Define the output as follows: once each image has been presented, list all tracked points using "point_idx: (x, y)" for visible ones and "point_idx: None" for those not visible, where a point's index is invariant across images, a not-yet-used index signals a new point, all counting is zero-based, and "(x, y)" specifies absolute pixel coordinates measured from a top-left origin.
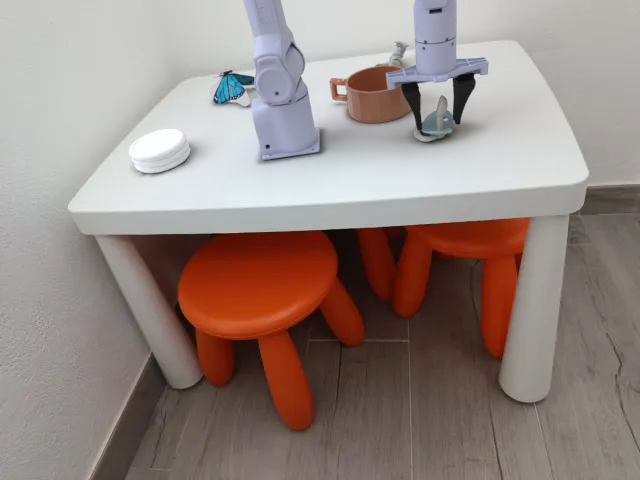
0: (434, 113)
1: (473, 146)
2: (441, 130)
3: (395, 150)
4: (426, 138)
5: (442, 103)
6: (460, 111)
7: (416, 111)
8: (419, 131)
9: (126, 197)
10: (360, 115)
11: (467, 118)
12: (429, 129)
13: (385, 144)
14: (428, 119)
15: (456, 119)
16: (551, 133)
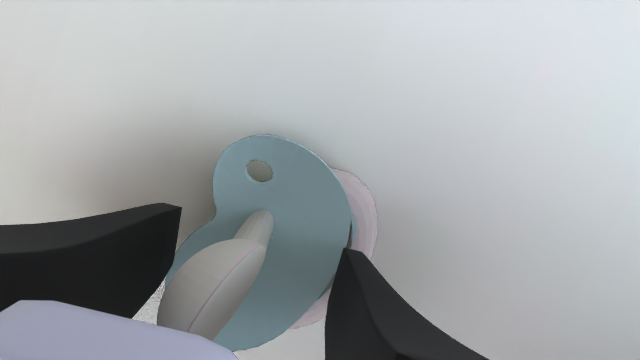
0: (237, 338)
1: (169, 41)
2: (257, 209)
3: (494, 192)
4: (346, 185)
5: (205, 273)
6: (122, 216)
7: (388, 300)
8: None
9: None
10: None
11: None
12: (304, 243)
13: (506, 261)
14: (278, 315)
15: (167, 209)
16: None
